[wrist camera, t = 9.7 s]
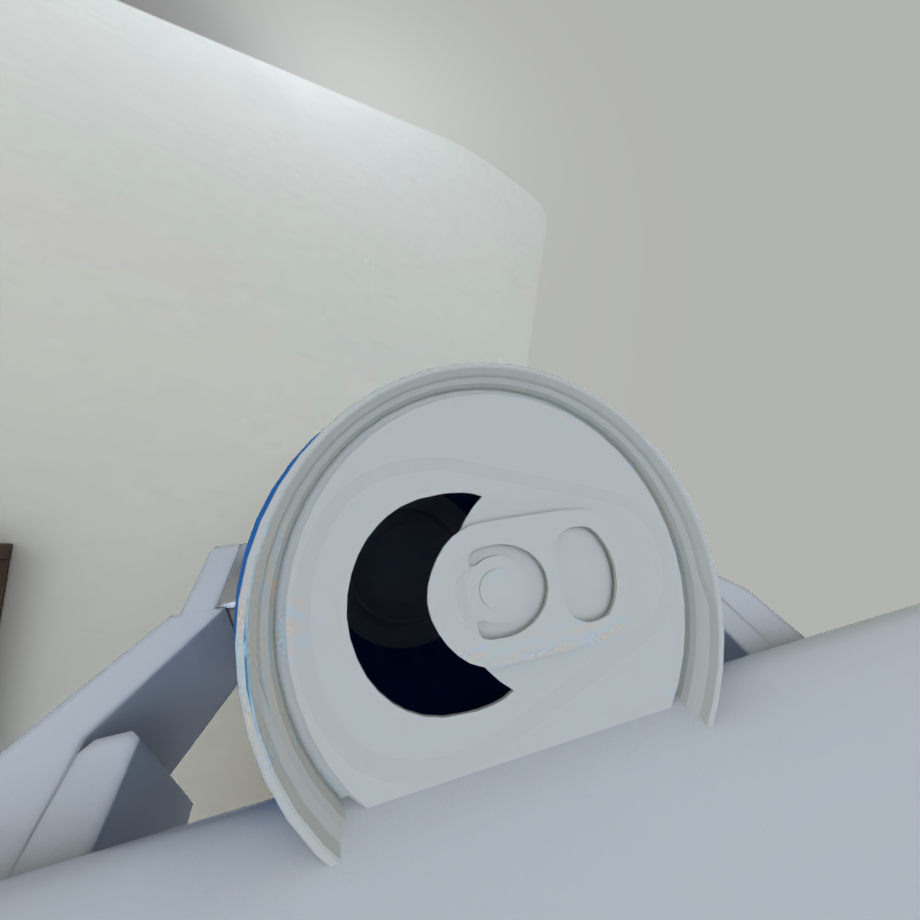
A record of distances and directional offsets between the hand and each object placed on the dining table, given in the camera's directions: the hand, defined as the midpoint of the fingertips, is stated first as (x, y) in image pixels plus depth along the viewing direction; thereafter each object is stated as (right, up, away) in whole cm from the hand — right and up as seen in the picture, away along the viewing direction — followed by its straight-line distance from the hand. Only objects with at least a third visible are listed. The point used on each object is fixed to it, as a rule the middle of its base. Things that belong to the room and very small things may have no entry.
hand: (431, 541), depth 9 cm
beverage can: (-2, -2, +7) cm, 7 cm away
